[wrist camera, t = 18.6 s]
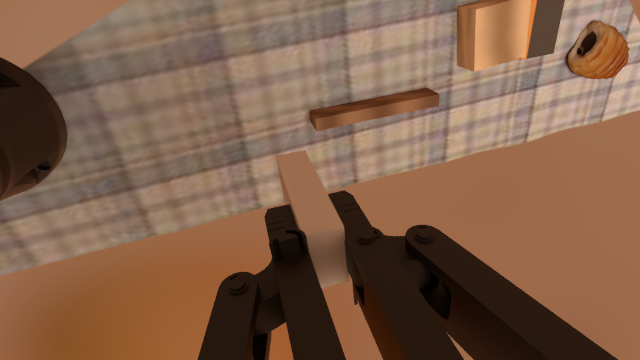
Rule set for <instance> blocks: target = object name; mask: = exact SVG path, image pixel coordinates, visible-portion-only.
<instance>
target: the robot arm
mask: <svg viewBox="0 0 640 360" xmlns="http://www.w3.org/2000/svg"><path fill="white" fill-rule="evenodd" d="M66 140H67V133H66V126H65V122H64V119H63V116H62V114H61V111H60V109H59V108H58V106H57V104H56V102H55V101H54V99H53V98H52V97H51V95H50V94H49V93H48V92H47V90H46V89H45V88H44V87H43V86H42V85H41V84H40V83H39V82H38V81H37V80H35V79H34V78H33V77H32V76H31V75H29V74H28V73H27V72H25V71H24V70H22V69H21V68H19V67H17V66H16V65H14V64H12V63H11V62H8V61H7V60H5V59H3V58H0V201H1V200H3V199H6V198H8V197H11V196H14V195H16V194H19V193H21V192H24V191H26V190H28V189H31V188H32V187H34V186H36V185H37V184H39V183H40V182H42V181H43V180H44V179H45V178H46V177H47V176H48V175H49V174H50V173H51V172H52V170H53V169H54V168H55V167H56V166H57V164H58V163H59V162H60V160H61V158H62V156H63V154H64V151H65V147H66ZM276 160H277V165H278V170H279V175H280V180H281V185H282V190H283V195H284V201H285V204H286V205H284V206H280V207H275V208H271V209H268V210H267V212H266V215H265V222H266V226H267V232H268V236H269V246H270V250H271V254H272V260H271V262H270V264H269V265H268V266H267V267H266V268H265V269H264V270H263V271H261V272H259V273H258V274H256V275H253V274H251V273H249V272H238V273H234V274H232V275H230V276H228V277H227V278H226V279H225V280H224V281H222V283H221V285H220V287H219V289H218V292H217V296H216V299H215V302H214V306H213V309H212V313H211V316H210V320H209V323H208V326H207V330H206V333H205V336H204V340H203V343H202V347H201V350H200V353H199V357H198V360H269V351H270V343H271V331H272V330H274V329H275V328H277V327H279V326H280V325H282V324H283V323H285V322H286V324H287V329H288V334H289V339H290V343H291V348H292V353H293V358H294V360H346V358H345V355H344V352H343V350H342V347H341V344H340V341H339V338H338V335H337V332H336V329H335V327H334V323H333V321H332V318H331V315H330V312H329V309H328V306H327V303H326V300H325V298H324V295H323V291H322V288H326V287H329V286H333V285H337V284H340V283H343V282H347V281H349V274H350V276H351V278H352V282H353V294H354V303H355V305H356V304H358V303H357V300H358V302H359V305H360V307H361V309H362V312H363V314H364V316H365V318H366V321H367V323H368V325H369V328H370V330H371V332H372V334H373V337H374V339H375V341H376V344H377V346H378V348H379V351H380V353H381V355H382V358H383V360H464V359H463V357H462V356H461V354H460V353H459V351H458V350H457V348H456V347H455V345H454V343H453V342H452V340H451V339H450V337H449V336H448V334H449V335H450V336H451V337H452V338H453V339H454V340H455V341H456V342H457V343H458V344H459V345H460V346H461V347H462V348H463V349H464V350H465V351H466V352H467V353H468V354H469V355H470V356H471V357H472V358H473V359H474V360H618V359H616V358H615V357H613V356H612V355H611V354H609V353H608V352H607V351H605V350H604V349H602V348H601V347H600V346H598V345H597V344H595V343H594V342H593V341H591V340H590V339H589V338H587V337H586V336H584V335H583V334H582V333H580V332H579V331H578V330H576V329H575V328H573V327H572V326H571V325H569V324H568V323H567V322H565V321H564V320H562V319H561V318H560V317H558V316H557V315H555V314H554V313H553V312H551V311H550V310H549V309H547V308H546V307H544V306H543V305H542V304H540V303H539V302H538V301H536V300H535V299H533V298H532V297H531V296H529V295H528V294H526V293H525V292H524V291H522V290H521V289H519V288H518V287H517V286H515V285H514V284H513V283H511V282H510V281H509V280H507V279H506V278H504V277H503V276H501V275H500V274H499V273H497V272H496V271H495V270H493V269H492V268H491V267H489V266H488V265H486V264H485V263H484V262H482V261H481V260H480V259H478V258H477V257H475V256H474V255H473V254H471V253H470V252H469V251H467V250H466V249H464V248H463V247H462V246H460V245H459V244H457V243H456V242H455V241H453V240H452V239H451V238H449V237H448V236H446V235H445V234H444V233H442V232H441V231H440V230H438V229H436V228H434V227H432V226H428V225H416V226H413V227H411V228H409V229H408V230H407V232H406V235H405V236H386V235H383V233H382V232H381V231H380V230H379V229H376V228H374V227H372V226H371V224H370V222H369V221H368V219H367V218H366V216H365V215H364V213H363V211H362V210H361V209H360V206H359V205H358V203H357V202H356V200H355V199H354V197H353V195H351V194H350V193H348V192H346V191H340V192H336V193H331V194H327V192H326V190H325V188H324V186H323V184H322V182H321V180H320V179H319V177H318V175H317V173H316V171H315V169H314V167H313V165H312V163H311V161H310V159H309V157H308V155H307V153H306V151H305V150H304V151H299V152H294V153H290V154H285V155H280V156H276ZM446 332H447V333H448V334H447V333H446Z"/></svg>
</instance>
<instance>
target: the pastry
mask: <svg viewBox="0 0 640 360" xmlns="http://www.w3.org/2000/svg"><path fill="white" fill-rule="evenodd" d="M628 50H629V48H628V46H627V41H626V40H624V37H623V35H622V34H621V33H619V32H618V30H617V29H616V28H615V27H613V26H610V25H606V24H604V23H602V22H601V21H595V22H593V23H591V24H589V25H588V26H587V27H586V28H585V29H584V30H583V31H582V33H581V34H580V36H579V38H578V40H577V42H576V44H575V46H574V47H573V49H572V50H571V52H570V53H569V55H568V64H569V68H570V69H571V71H572V72H573V73H575V74H578V75H580V76H583V77H585V78H591V79H601V78H604V79H608V78H612V77H614V76H616V75H617V73H618V72H619V71H620V70H621V69H622V68H623V67H624V66H625V65H626V64H627V61H628V56H629V55H628Z"/></svg>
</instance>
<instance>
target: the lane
mask: <svg viewBox="0 0 640 360" xmlns="http://www.w3.org/2000/svg"><path fill="white" fill-rule="evenodd" d="M435 106H439V94H438V93H436V92H434V91H432V90H430V89H429V88H424V89H419V90H414V91H409V92H404V93H399V94H394V95H388V96H383V97H378V98H373V99H368V100H363V101H358V102H353V103H348V104H342V105H337V106H332V107H327V108H322V109H317V110H312V111H310V118H311V123H312V124H313V126H314V127H315V129H316V131H318V130H323V129H328V128H333V127H338V126H343V125H347V124H352V123H357V122H362V121H367V120H372V119H377V118H382V117H386V116H391V115H396V114H401V113H406V112H411V111H416V110H421V109H425V108H430V107H435Z"/></svg>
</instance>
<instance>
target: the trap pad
mask: <svg viewBox="0 0 640 360" xmlns="http://www.w3.org/2000/svg"><path fill="white" fill-rule="evenodd" d="M564 1H565V0H531V7H530V17H529V27H528V37H527V47H526V57H523V58H520V59H521V60H522V59H527V58H532V57H537V56H542V55H547V54H553V52H554V48H555V43H556V38H557V34H558V29H559V24H560V19H561V15H562V10H563V5H564Z"/></svg>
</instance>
